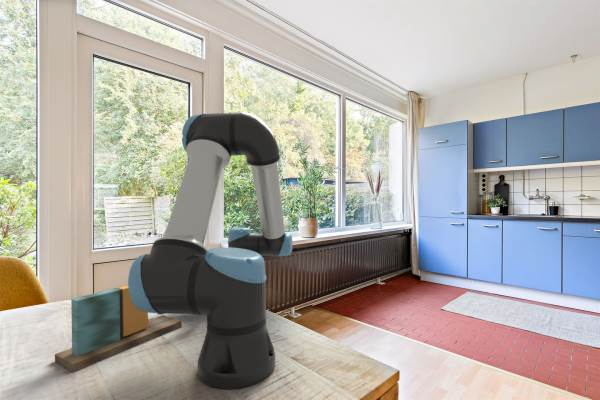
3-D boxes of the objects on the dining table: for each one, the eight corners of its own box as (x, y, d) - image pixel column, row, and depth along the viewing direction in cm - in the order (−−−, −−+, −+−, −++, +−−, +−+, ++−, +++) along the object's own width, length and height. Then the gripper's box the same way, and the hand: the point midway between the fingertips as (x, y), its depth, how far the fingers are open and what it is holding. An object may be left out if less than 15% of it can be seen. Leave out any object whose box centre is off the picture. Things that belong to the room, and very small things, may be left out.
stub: (142, 325, 78) (141, 281, 78) (148, 327, 76) (147, 283, 76) (118, 334, 73) (117, 287, 73) (123, 336, 71) (123, 289, 71)
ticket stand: (162, 320, 86) (162, 274, 86) (181, 326, 81) (181, 277, 81) (54, 361, 64) (54, 299, 64) (72, 372, 60) (71, 306, 60)
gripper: (248, 297, 92) (189, 322, 74) (192, 286, 105) (130, 304, 87) (248, 272, 92) (188, 290, 74) (192, 264, 105) (130, 277, 87)
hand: (157, 298), depth 80 cm, fingers open, 13 cm apart
